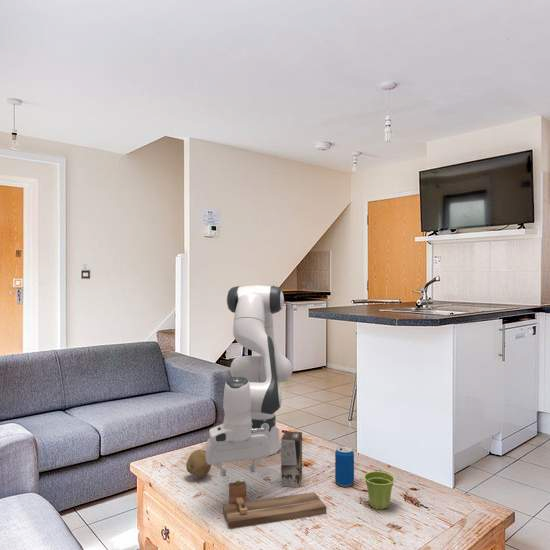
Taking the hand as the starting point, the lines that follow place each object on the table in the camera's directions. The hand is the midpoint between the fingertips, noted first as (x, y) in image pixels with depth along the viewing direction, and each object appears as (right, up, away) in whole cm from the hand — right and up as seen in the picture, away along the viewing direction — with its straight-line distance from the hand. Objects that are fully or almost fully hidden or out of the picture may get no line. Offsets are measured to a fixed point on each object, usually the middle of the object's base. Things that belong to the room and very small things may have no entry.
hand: (238, 473), depth 146 cm
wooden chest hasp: (+1, -10, -5) cm, 11 cm away
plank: (+11, -10, -5) cm, 16 cm away
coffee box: (+18, -10, +17) cm, 26 cm away
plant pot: (+45, -10, 0) cm, 46 cm away
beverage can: (+36, -10, +15) cm, 40 cm away
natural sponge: (-16, -10, +20) cm, 27 cm away
